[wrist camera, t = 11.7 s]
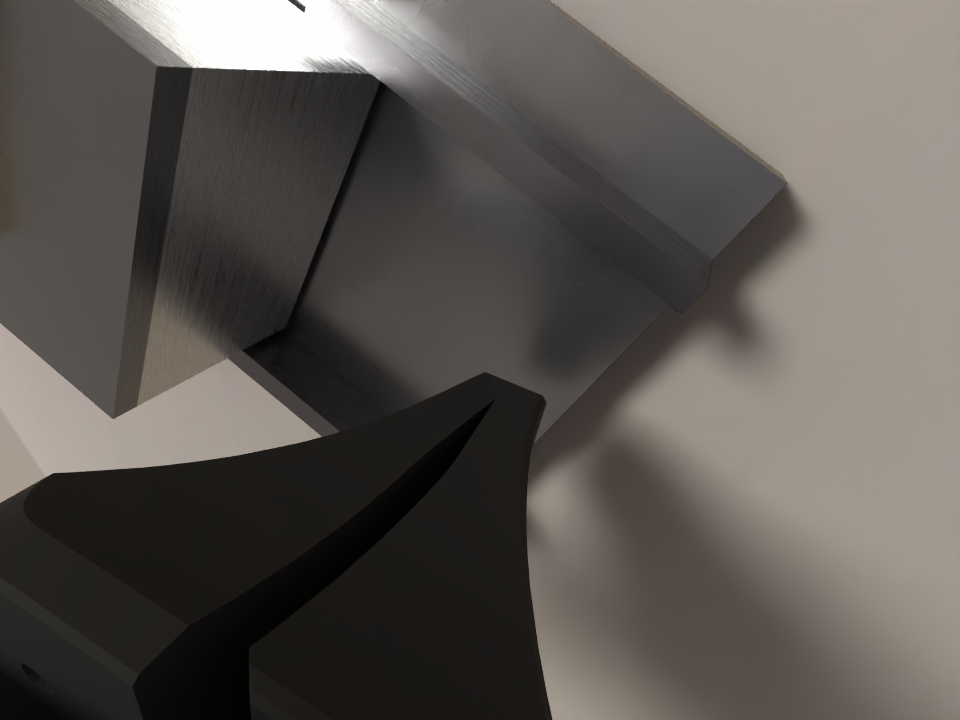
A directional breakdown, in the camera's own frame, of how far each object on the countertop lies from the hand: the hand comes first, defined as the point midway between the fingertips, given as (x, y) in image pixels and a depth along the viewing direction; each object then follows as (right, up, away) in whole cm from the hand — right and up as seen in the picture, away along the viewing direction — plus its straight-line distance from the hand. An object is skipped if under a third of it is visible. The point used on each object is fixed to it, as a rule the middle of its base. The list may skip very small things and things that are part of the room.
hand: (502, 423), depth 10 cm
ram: (-6, +6, +2) cm, 8 cm away
